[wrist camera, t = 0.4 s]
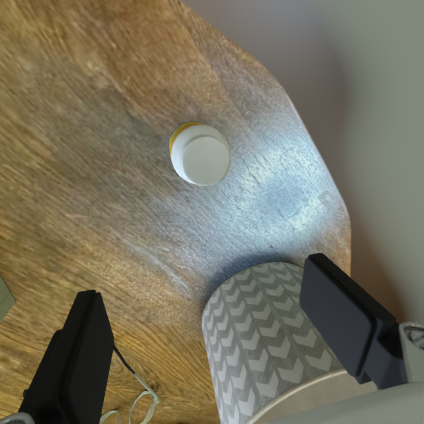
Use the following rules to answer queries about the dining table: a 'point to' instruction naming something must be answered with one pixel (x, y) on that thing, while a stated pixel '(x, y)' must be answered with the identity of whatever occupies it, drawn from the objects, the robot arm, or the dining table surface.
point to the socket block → (5, 299)
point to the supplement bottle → (199, 153)
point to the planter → (269, 349)
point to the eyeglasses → (150, 391)
